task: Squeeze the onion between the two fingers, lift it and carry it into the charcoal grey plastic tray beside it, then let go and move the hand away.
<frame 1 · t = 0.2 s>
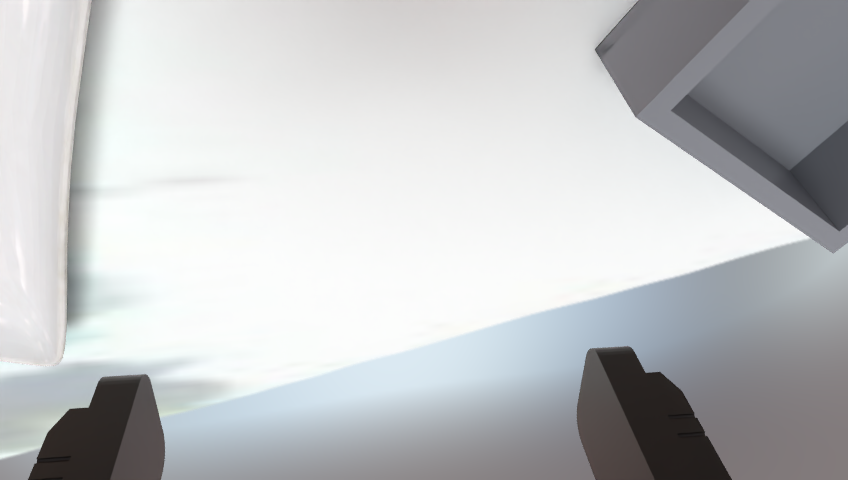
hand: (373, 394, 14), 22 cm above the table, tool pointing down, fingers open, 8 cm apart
bin: (809, 8, 34), on the table
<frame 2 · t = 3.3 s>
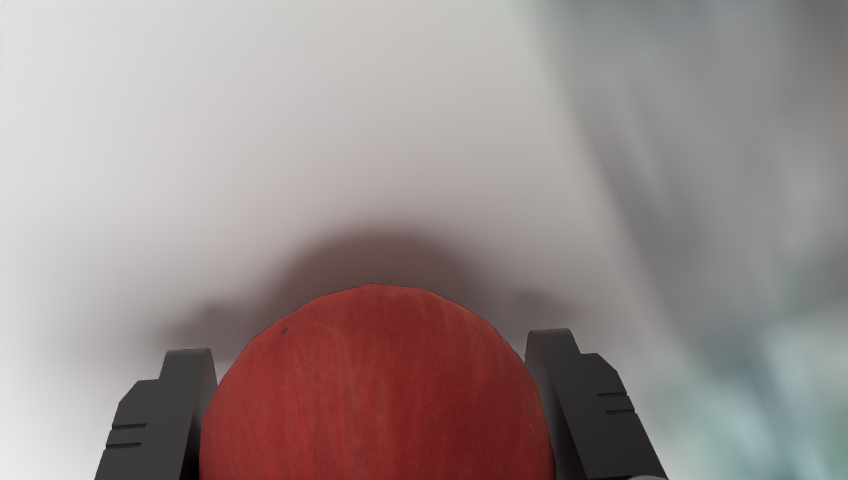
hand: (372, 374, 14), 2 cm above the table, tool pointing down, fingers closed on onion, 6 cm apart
onion: (368, 316, 16), on the table, touching gripper
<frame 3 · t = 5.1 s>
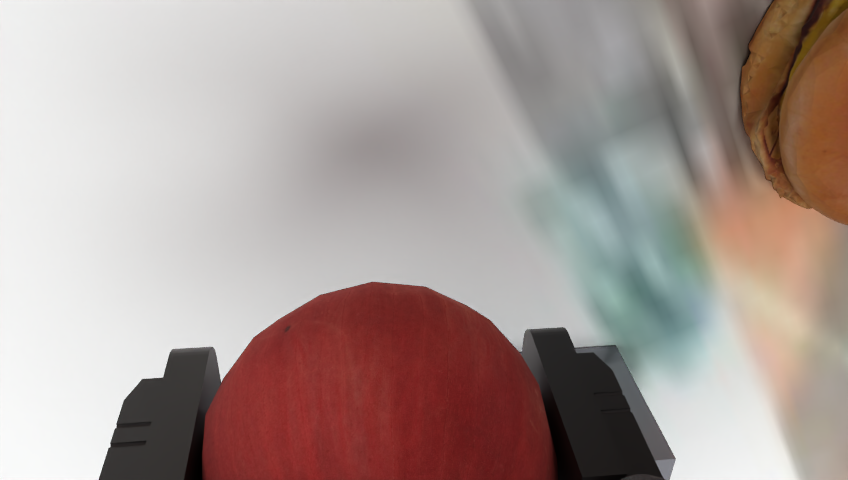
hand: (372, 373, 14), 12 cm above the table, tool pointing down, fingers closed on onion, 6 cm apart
bin: (442, 475, 33), on the table
onion: (370, 314, 16), point 10 cm above the table, touching gripper
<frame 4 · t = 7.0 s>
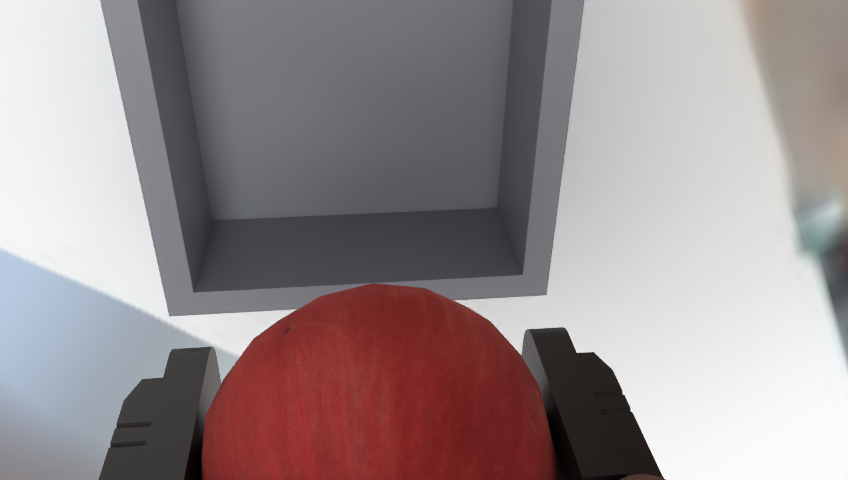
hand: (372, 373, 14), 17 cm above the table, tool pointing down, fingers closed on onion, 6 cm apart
bin: (350, 68, 29), on the table
onion: (370, 315, 16), point 16 cm above the table, touching gripper
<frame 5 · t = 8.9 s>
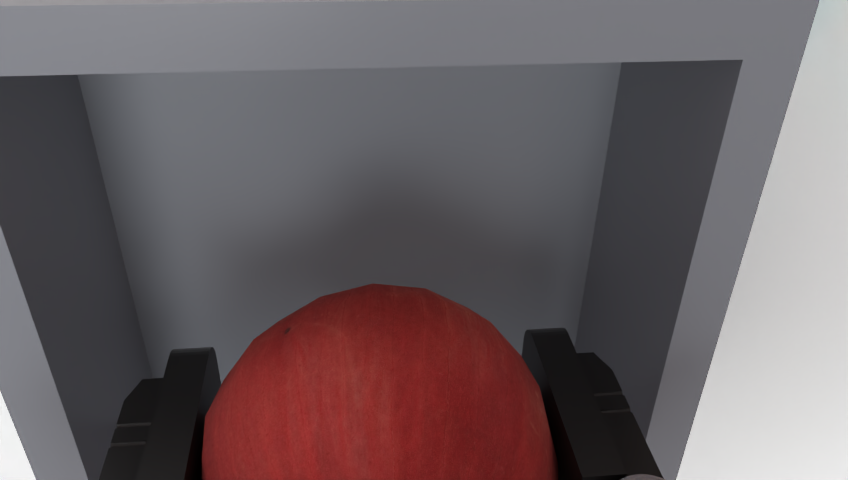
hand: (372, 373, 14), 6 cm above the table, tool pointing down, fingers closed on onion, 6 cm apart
bin: (363, 209, 19), on the table
onion: (370, 315, 16), point 5 cm above the table, touching gripper
when the fingers open (5 cm above the table, at t = 10.2 s): onion drops 2 cm, resting on bin.
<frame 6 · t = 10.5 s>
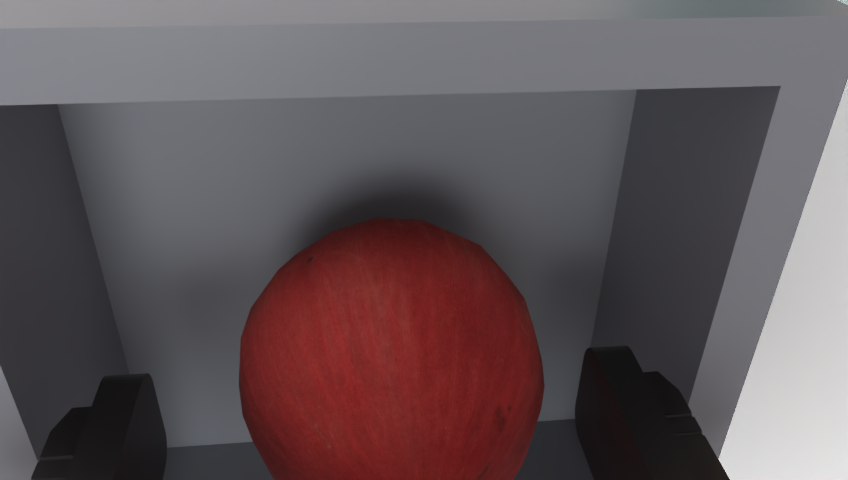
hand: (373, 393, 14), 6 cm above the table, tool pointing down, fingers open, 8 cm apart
bin: (362, 233, 18), on the table
onion: (366, 250, 18), point 1 cm above the table, touching bin
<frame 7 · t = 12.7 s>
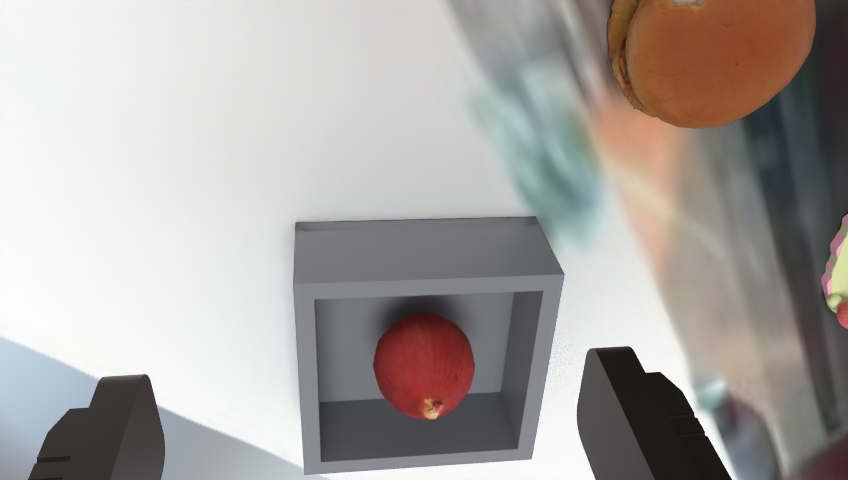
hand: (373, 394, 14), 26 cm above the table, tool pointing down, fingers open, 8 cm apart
burger: (688, 19, 39), on the table
bin: (413, 315, 47), on the table
onion: (416, 322, 46), point 1 cm above the table, touching bin
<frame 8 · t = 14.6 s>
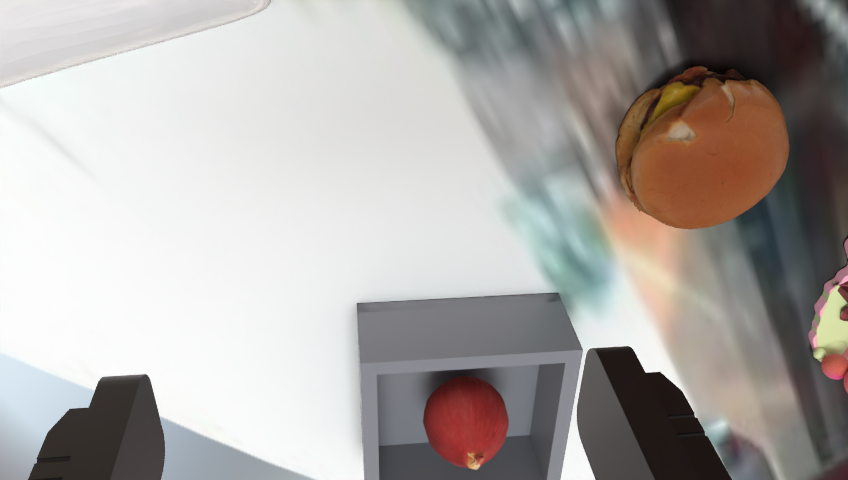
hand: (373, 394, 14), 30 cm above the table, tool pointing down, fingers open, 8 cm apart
burger: (684, 136, 46), on the table
bin: (454, 373, 55), on the table
onion: (457, 380, 54), point 1 cm above the table, touching bin
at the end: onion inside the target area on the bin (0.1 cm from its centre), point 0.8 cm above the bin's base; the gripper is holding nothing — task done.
